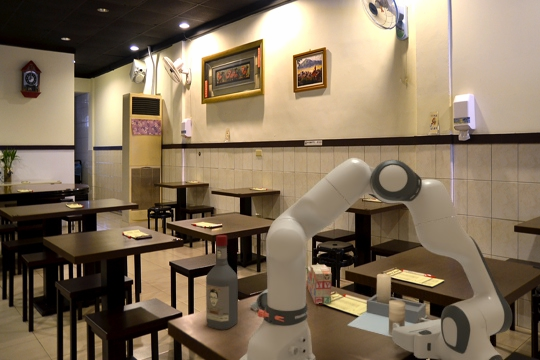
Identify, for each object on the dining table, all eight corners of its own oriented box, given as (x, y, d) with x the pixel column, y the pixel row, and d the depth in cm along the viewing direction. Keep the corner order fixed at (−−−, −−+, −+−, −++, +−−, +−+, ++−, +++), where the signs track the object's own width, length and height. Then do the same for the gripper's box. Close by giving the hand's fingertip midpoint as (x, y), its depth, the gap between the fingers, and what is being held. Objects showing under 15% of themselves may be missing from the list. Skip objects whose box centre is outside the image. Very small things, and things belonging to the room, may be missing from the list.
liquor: (218, 317, 147) (218, 232, 145) (240, 321, 142) (240, 235, 141) (202, 326, 139) (202, 237, 137) (225, 331, 134) (225, 239, 133)
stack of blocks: (306, 287, 181) (306, 259, 180) (321, 287, 181) (321, 259, 180) (315, 304, 159) (315, 273, 159) (331, 304, 160) (331, 272, 159)
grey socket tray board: (404, 343, 126) (405, 298, 125) (347, 328, 137) (347, 286, 136) (427, 318, 145) (428, 279, 144) (375, 307, 156) (376, 270, 156)
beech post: (401, 338, 127) (402, 306, 126) (386, 334, 130) (386, 303, 129) (406, 333, 131) (407, 302, 130) (391, 329, 134) (392, 298, 133)
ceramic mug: (281, 306, 157) (281, 286, 157) (276, 314, 149) (276, 293, 149) (254, 304, 160) (254, 284, 159) (248, 312, 152) (247, 291, 151)
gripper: (470, 324, 117) (433, 307, 130) (413, 336, 109) (380, 317, 121) (469, 346, 117) (432, 327, 130) (413, 359, 109) (379, 338, 122)
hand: (406, 322), depth 126 cm, fingers open, 8 cm apart
